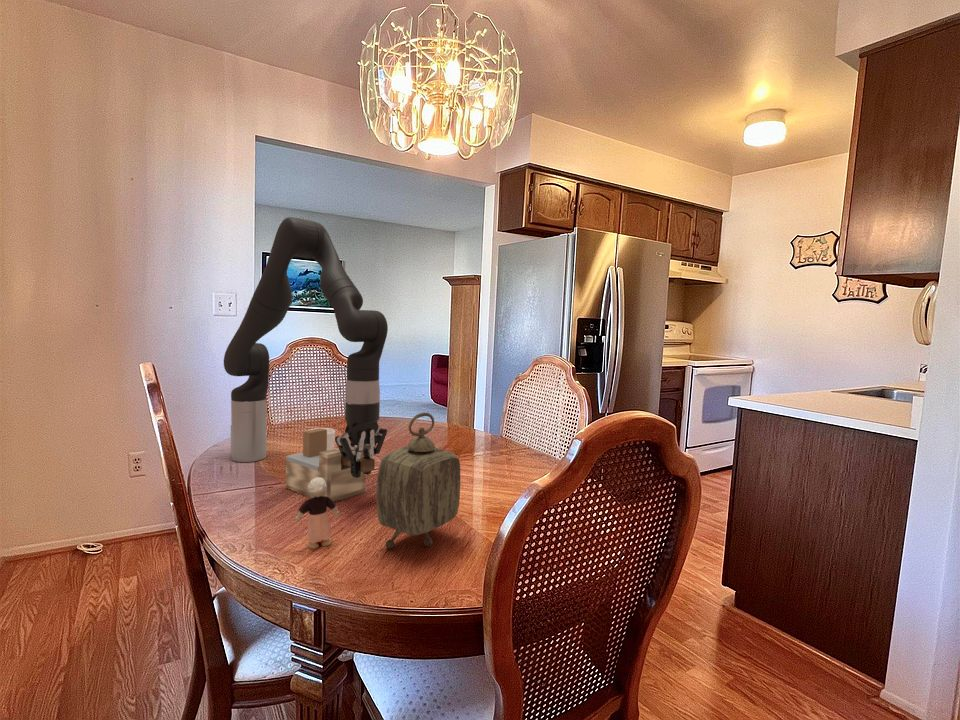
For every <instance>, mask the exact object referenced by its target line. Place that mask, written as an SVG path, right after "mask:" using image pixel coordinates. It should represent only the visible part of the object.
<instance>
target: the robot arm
mask: <svg viewBox="0 0 960 720" xmlns="http://www.w3.org/2000/svg"><path fill="white" fill-rule="evenodd" d="M294 257H295V258H304V259H313V260H315V261H316V263H317V264H318V265H319V266H320V268H321V272H320V279H319V283H320V284H319V285H320V289H321V292H322V294H323V295H324V297H325V298H326V300H327V302H328V303H329V305H330V306H331V308H332V309H333V312H334V316H335V319H336V323H337V325H336V326H337V328H338V331H339V334H340V335H341V336H342V338H344V339H345V340H347V341H348V342H351V343H363V344H362V346H361V348H360V350H358V351H357V352H353V353H351V354H349V355H348V357H347V360H346V384H345V390H344V392H345V393H344V394H345V395H344V399H345V400H344V419H345V422H346V426H345V429H344V432H343V433H342V434H341V435H340V436H339V435H337V436H336V435H335V445H336V446H337V448H339V450H340V452H341V455H342V457H343V458H344V459H347V460H350V461H351V475H352V476H353V477H355V478H359V477H361V472H360V467H361V461H360V458H361V452H362V451H363V456H364V457H363V458H364V459H374V457H375V455H379V454H381V453H380V452H381V449H382V447H383V444H384V441H385V439H386V437H387V433H388V430H387V429H386V428H382V427H380V426H379V423H378V421H379V420H380V412H381V411H380V410H381V409H380V404H381V401H380V399H381V398H380V397H381V389H380V360H381V358H382V354H383V350H384V348H385V344H386V340H387V336H388V331H389V330H388V329H389V328H388V325H389V324H388V320H387V319H386V316H385V315H384V314H383V313H382V312H381V311H379V310H375V309H374V310H371V309H369V310H368V309H365V310H364V309H362V307H363V304H364V300H363V296H362V294H361V292H360V291H359V289H358V288H357V286H356V285H355V283H354V282H353V281H352V279H351V278H350V276H349V275H348V274H347V272H346V270H345V268H344V267H343V264H342V262H341V260H340V258H339V255H338V253H337V249H336V248H335V246H334V243H333V241H332V239H331V236H330V235H329V233H328V231H327V229H326V228H325V227H324V225H322V224H321V223H320V222H317V221H314V220H308V219H304V218H298V217H293V216H291V217H290V216H288V217H285V218H284V219H283V220H282V221H281V223H280V224H279V226H278V227H277V231H276V233H275V236H274V239H273V242H272V247H271V249H270V252H269V257H268V259H267V262H266V265H265V268H264V270H263V272H262V274H261V278H260V280H259V282H258V284H257V287H256V288H255V290H254V293H253V295H252V297H251V299H250V302H249V305H248V306H247V310H246V312H245V314H244V317H243V319H242V320H241V323H240V325H239V326H238V329H237V330H236V332H235V333H234V335H233V337H232V338H231V340H230V342H229V344H228V346H227V348H226V349H225V352H224V357H223V368H224V371H225V373H227V374H228V376H233V377H248V379H247V380H246V381H245V382H244V383H242V384H241V385H239V386H237V387H235V388H233V389H232V390H231V393H230V404H231V405H230V410H231V411H230V412H231V414H230V417H231V420H230V421H231V423H230V458H231V460H232V461H233V462H239V463H251V462H257V461H262V460H264V459H266V458H267V393H268V390H269V378H270V377H269V376H270V375H269V374H270V354H269V351H268V347H267V346H266V345H265V344H263V343H258V341H259V340H260V339H261V338H263V337H265V336H266V335H268V333H269V332H271V331H273V330H274V329H275V328H277V327H278V326H279V325H280V324H281V323H282V322H283V320H284V319H285V318H286V315H287V313H288V311H289V309H290V306H291V305H292V301H293V293H292V289H291V288H292V287H291V285H290V282H289V277H288V270H289V266H290V263H291V261H292V259H293V258H294ZM355 445H357V446H358V447H357V446H355ZM355 451H356V453H355ZM363 474H365V476H368V475H371V474H372V471H368V472H365V473H363Z"/></svg>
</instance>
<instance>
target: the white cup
mask: <svg viewBox="0 0 960 720" xmlns="http://www.w3.org/2000/svg"><path fill="white" fill-rule="evenodd" d="M319 428H320V427H316V428H311V429H307V430H306V431H308V430H313V429H319ZM321 428H322V429H326V430H327V449H335V445H336V441H335V437H336V429H333V428H330V427H321Z"/></svg>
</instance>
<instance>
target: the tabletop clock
mask: <svg viewBox="0 0 960 720" xmlns="http://www.w3.org/2000/svg"><path fill="white" fill-rule="evenodd" d="M423 417H428V418H430V420H431V425H430V427H428V429H426V430H425V428H424V427H420V428H418V432H414V431H413V430H412V426H413V424H414V422H415V421H416V420H417V419H419V418H423ZM434 426H435V419H434V416H433V415H432V414H431V413H429V412H421V413H418V414H416V415H414V416H413V417H412V418H411V419H410V421H409V424H408V431H409V433H410V435H412V436H414V437H413V438H412V439H411V440H410V441H409V443H408V444H407V446H403V447H400V448H398V449H395V450H393V451H389V452H388V453H387V454H385V455H384V456H383V457H382V458H381V459H380V462H379V467H378V471H377V480H376V492H375V495H376V513H377V518H378V522H379V524H380V525H381V526H384V527H387V528H389V529H393V530H395V532H394V533H393V536H392V537H391V539H387V540H386V541H385V542H384V543H385V547H386V549H393V547H394V546H395V540H396V539H397V537H398V536H399V535H400V534H401V533H403V534H406V535H409V536H419V535H422V534H424V535H425V538H424V540H423V543H424V546H426V547H431V546H432V545H433V542H434V541H433V539H432V537H430V534H429V532H430V531H433V530H435V529H438V528H440V527H442V526H443V525H446V524H447V523H449V522H451V520H453V519H454V518H455V517H456V516H457V515H458V511H459V508H460V507H459V506H460V496H461V495H460V494H461V464H460V459H459V458H458V456H457V455H456V454H455V453H454V452H453V451H450V450H445V449H441V448H436V446H435V444H434V441H433V440H431V439H430V437H428V436H425V435H427V434H428V433H430V432H431V431H432V430H433V428H434Z"/></svg>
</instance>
